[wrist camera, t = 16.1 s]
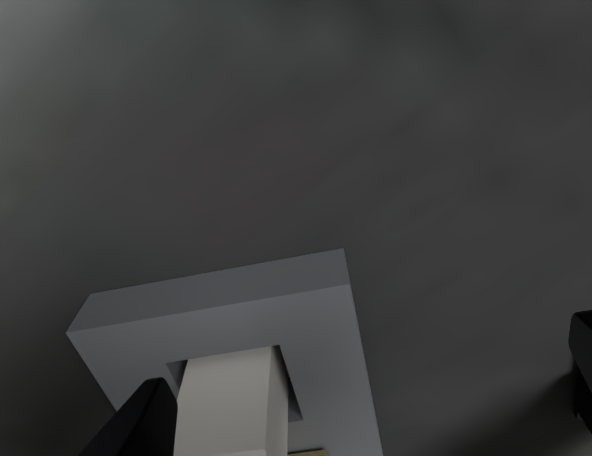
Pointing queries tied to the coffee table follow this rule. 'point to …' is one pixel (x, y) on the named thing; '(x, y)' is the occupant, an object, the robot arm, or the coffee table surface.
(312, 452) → the tan piece
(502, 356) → the coffee table surface
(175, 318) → the socket block
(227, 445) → the plug
